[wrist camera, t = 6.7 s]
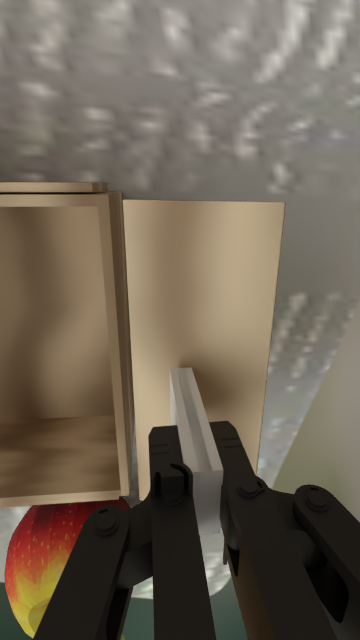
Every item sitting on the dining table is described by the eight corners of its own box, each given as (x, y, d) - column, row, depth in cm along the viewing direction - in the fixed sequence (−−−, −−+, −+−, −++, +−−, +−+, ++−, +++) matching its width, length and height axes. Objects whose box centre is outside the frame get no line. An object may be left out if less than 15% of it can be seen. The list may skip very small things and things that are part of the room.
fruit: (73, 442, 30) (38, 558, 21) (166, 498, 33) (173, 620, 24) (3, 514, 32) (-56, 648, 23) (97, 560, 35) (78, 694, 26)
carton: (-43, 430, 28) (-111, 517, 21) (-114, 183, 21) (-253, 181, 14) (134, 421, 29) (129, 501, 22) (121, 183, 23) (107, 182, 15)
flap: (249, 537, 19) (250, 529, 20) (284, 202, 13) (285, 202, 13) (139, 499, 21) (143, 493, 22) (122, 199, 15) (128, 199, 15)
